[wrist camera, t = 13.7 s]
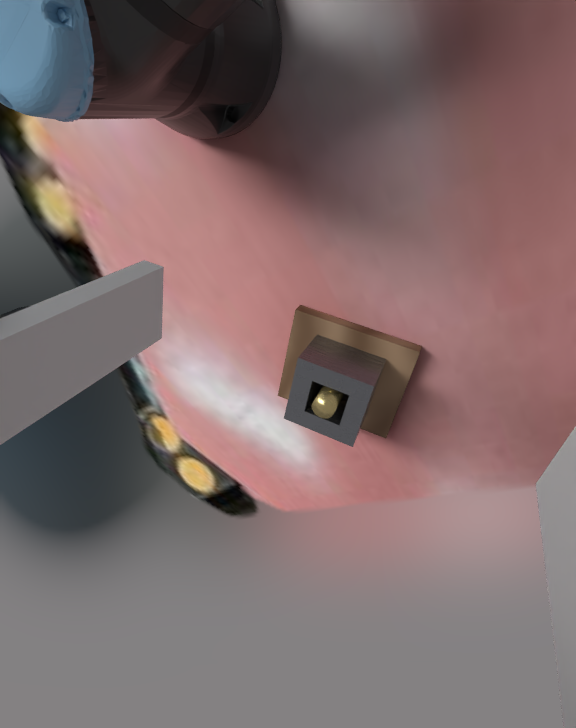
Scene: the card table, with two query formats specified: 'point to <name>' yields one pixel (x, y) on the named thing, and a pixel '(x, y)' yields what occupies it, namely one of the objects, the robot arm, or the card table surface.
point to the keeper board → (391, 348)
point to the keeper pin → (326, 402)
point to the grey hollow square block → (334, 387)
